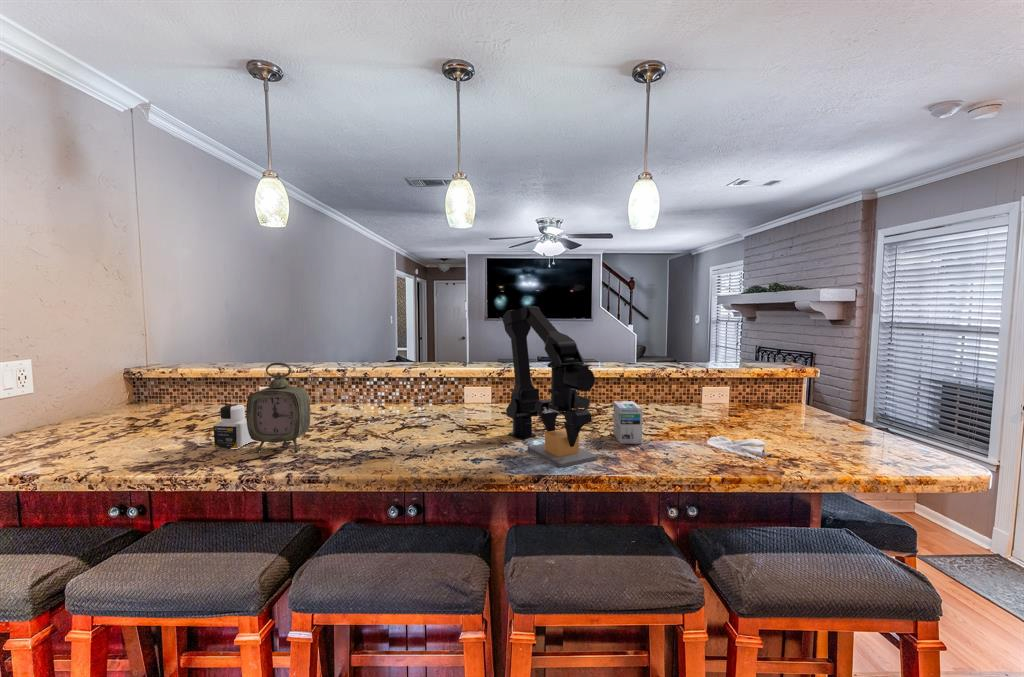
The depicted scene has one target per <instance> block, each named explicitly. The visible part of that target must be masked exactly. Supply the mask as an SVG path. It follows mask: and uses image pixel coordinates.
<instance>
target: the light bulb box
mask: <svg viewBox="0 0 1024 677" xmlns="http://www.w3.org/2000/svg"><path fill="white" fill-rule="evenodd" d="M612 434H613V435H614V437H615V438H616V439H617V441H618V442H619V444H623V445H625V444H634V445H636V444H637V445H638V444H639V445H642V444H643V407H641V406H640V405H639V404H637V403H636V402H635V401H634V400H631V401H629V400H613V433H612Z"/></svg>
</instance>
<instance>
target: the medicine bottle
mask: <svg viewBox="0 0 1024 677" xmlns="http://www.w3.org/2000/svg"><path fill="white" fill-rule="evenodd" d="M219 410H220V411H219V412H220V421H221V422H218V423H214V424H213V444H214V449H215V448H238V447H241V446H243V445H245V444H248V443H250V442H253V443H254V440H253V439H251V437H250V435H249V432H248V428H247V420H246V409H245V406H244V404H240V403H234V404H227V405H225V406H222V407H221V408H220V409H219ZM248 445H249V444H248Z"/></svg>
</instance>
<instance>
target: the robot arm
mask: <svg viewBox="0 0 1024 677" xmlns="http://www.w3.org/2000/svg"><path fill="white" fill-rule="evenodd" d="M502 323H503V325H504V326H503V327H504V331H505V332H506V334H507V335H508V337H509V339H510V341H511V342H510V343H511V353H512V363H513V372H514V373H513V374H514V381H515V382H514V383H515V386H514V388H513V389H512V392H511V396H510V398H511V401H510V402H509V404H508V406H507V407H506V409H505V412H506V417H507V418H510V419H512V431H510V432H508V436H511V437H513V438H515V439H517V440H521V439H527V438H533V437H536V436H537V435H536V433H533V422H532V419H533V418H532V417H537V416H538V415H539V418H540V419H541V421H542V423H543V425H544V427H545V430H546V432H548V431H554V430H556V424H557V423H556V419H557V417H558V416H559V414H560V415H563V416H564V420H565V422H564V429H566V433H567V437H568V441H569V445H570V447H573V446H574V445H575V442H576V439H577V437H578V434H579V435H580V431H581V430H582V428H583V427H584V426H586V425H588V424H589V423H592V419H593V417H592V415H593V414H592V413H591V412H590V410H589V408H590V404H591V401H592V400H591V398H589V397H585V396H581V395H579V394H578V391H579V392H580V391H581V392H585V393H586V392H589V391H590V390H592V388H594V386H595V381H596V378H595V375H594V373H593V371H592V370H591V369H589V368H590V367H589V364H587V363H585V361H584V358H583V356H582V355H581V352H580V351H579V348H578V344H577V343H576V341H575V340H574V339H573V338H571V337H570V336H569V335H568V334H564V333H562V332H560V331H559V330H558V329H556V327H555V326H554V325H553V324H552V323H551V321H549V319H548V318H547V317H546V316H545V315H544V314H543V313H542V310H541V309H540V307H538V306H536V305H534V306H531V305H530V306H529V305H528V306H527V305H526V306H524V307H520V308H517V309H510V310H509V309H508V310H506V311H505V313H504V314H503V316H502ZM531 329H533V331H534V332H535V333H536V335H538V337H539V338H540V339H541V340H542V341H543V344H544V351H545V353H546V354H547V356H548V358H549V360H550V362H548V364H547V365H546V366H547V368H551V380H550V381H551V386H550V387H551V388H548V390H547V392H548V393H550V394H551V398H549V399H542V400H541V399H540V393H539V392H540V390H539V388H537V387H536V388H535V387H534V385H533V384H532V377H531V376H532V375H531V366H530V358H529V346H528V338H527V337H528V335H529V333H530V331H531Z"/></svg>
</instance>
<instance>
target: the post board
mask: <svg viewBox="0 0 1024 677" xmlns="http://www.w3.org/2000/svg"><path fill="white" fill-rule="evenodd" d="M527 451H529V452H530V453H532V454H534V455H536V456H538V457H540V458H542V459H544V460H545V461H547V462H548V463H551V464H553V465H555V466H557V467H559V468H561V469H562V468H566V467H567V468H568V467H571V466H575V465H579V464H583V463H584V462H585V463H588V462H589V463H590V462H594V461H598V460H599V455H597V454H595V453H592V452H590V451H588V450H585V449H583V448H581V447H579V453H575V454H570V455H565V456H560V457H558V456H556V455H554V454H552V453H550V452H548V451H546V450H545V443H541V444H536V445H530V446H527ZM597 459H598V460H597ZM593 460H594V461H593Z"/></svg>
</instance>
